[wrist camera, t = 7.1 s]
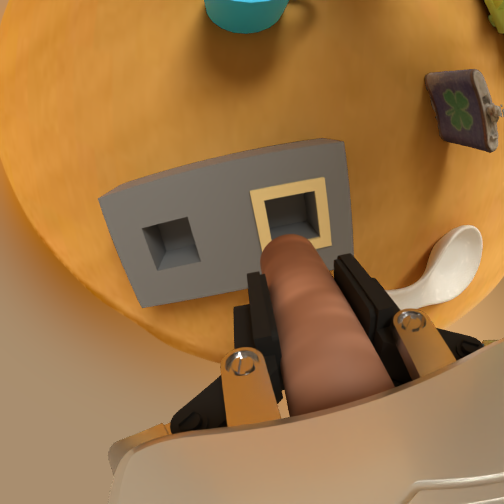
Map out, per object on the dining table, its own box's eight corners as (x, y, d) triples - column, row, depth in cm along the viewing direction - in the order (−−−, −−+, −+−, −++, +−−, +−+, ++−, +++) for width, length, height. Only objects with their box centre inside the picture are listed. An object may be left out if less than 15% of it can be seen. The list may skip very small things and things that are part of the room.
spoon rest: (473, 210, 32) (504, 228, 25) (464, 276, 37) (489, 298, 30) (338, 244, 33) (362, 273, 26) (343, 318, 38) (360, 353, 31)
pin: (314, 229, 14) (420, 390, 5) (318, 279, 15) (394, 441, 6) (255, 240, 14) (293, 429, 5) (264, 290, 15) (299, 469, 6)
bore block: (322, 138, 27) (345, 141, 21) (334, 240, 32) (355, 266, 26) (121, 184, 27) (96, 199, 22) (154, 278, 33) (141, 309, 27)
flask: (421, 74, 23) (482, 68, 14) (436, 72, 23) (496, 68, 14) (440, 143, 27) (501, 159, 18) (454, 139, 27) (513, 153, 17)
